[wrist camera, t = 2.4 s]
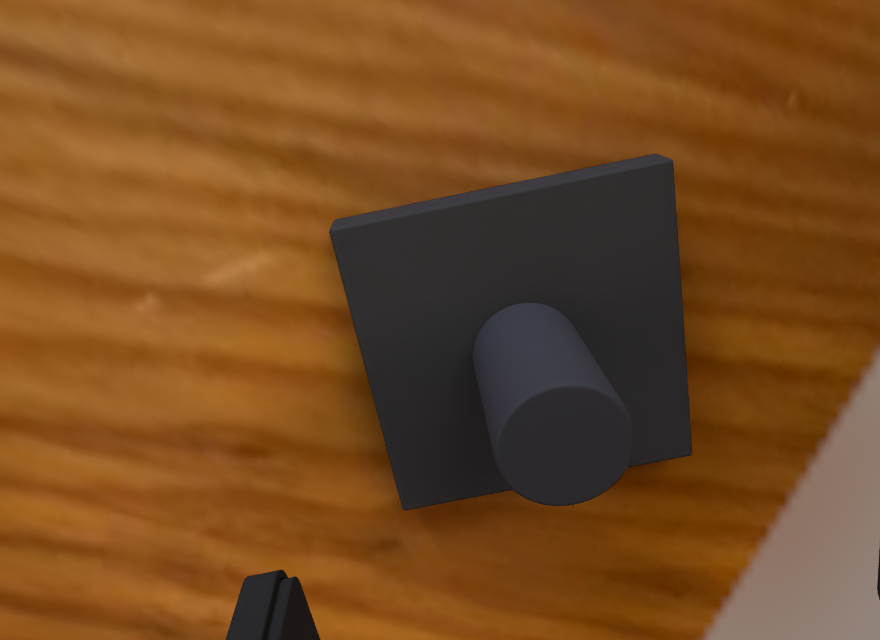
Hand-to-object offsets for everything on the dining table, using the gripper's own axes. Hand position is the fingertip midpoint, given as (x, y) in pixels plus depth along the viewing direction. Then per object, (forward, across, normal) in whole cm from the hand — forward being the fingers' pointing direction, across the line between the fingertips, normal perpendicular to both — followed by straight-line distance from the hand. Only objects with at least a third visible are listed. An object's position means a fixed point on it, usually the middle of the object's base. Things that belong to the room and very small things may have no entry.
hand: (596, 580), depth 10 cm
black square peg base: (+10, 0, 0) cm, 10 cm away
